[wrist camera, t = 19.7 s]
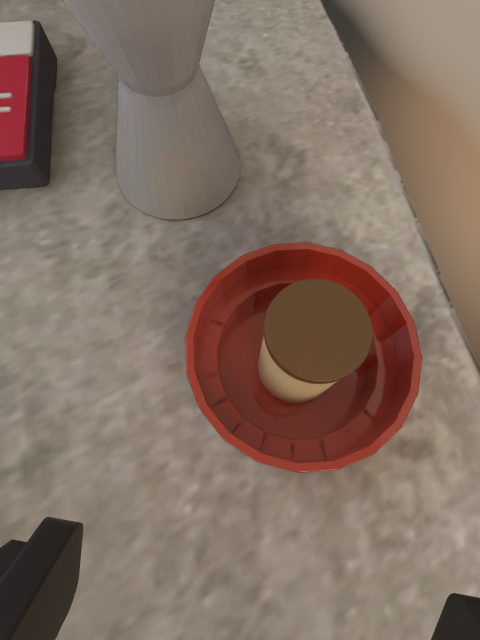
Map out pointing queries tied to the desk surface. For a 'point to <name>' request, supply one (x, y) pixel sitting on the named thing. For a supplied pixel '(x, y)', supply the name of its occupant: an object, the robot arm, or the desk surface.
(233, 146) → the lamp
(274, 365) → the tea tin
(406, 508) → the desk surface
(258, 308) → the bowl
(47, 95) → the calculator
